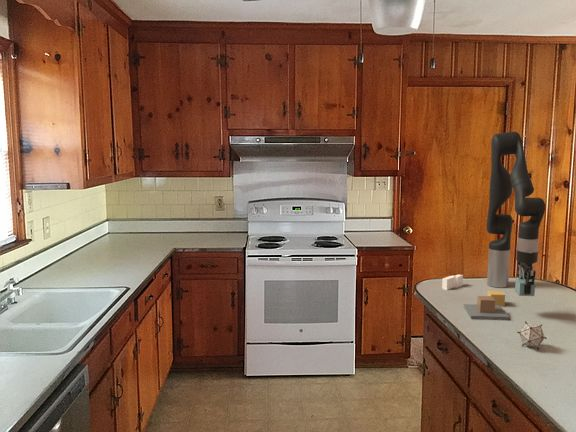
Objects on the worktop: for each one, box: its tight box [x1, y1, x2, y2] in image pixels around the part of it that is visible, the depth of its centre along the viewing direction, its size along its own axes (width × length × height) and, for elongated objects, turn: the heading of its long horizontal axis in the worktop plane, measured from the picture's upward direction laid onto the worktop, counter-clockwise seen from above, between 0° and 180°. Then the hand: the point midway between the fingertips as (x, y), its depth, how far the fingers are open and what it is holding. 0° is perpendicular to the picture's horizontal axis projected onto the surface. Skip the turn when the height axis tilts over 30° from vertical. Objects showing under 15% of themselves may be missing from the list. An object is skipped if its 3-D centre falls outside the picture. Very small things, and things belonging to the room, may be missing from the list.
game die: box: [516, 320, 548, 351], centre depth 175 cm, size 9×8×10 cm
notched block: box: [441, 273, 464, 291], centre depth 242 cm, size 15×11×6 cm
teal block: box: [514, 278, 536, 297], centre depth 205 cm, size 6×6×5 cm
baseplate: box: [463, 295, 510, 321], centre depth 207 cm, size 14×14×6 cm
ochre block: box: [487, 290, 506, 307], centre depth 218 cm, size 6×6×5 cm
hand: (524, 291), depth 205 cm, fingers closed on teal block, 5 cm apart
